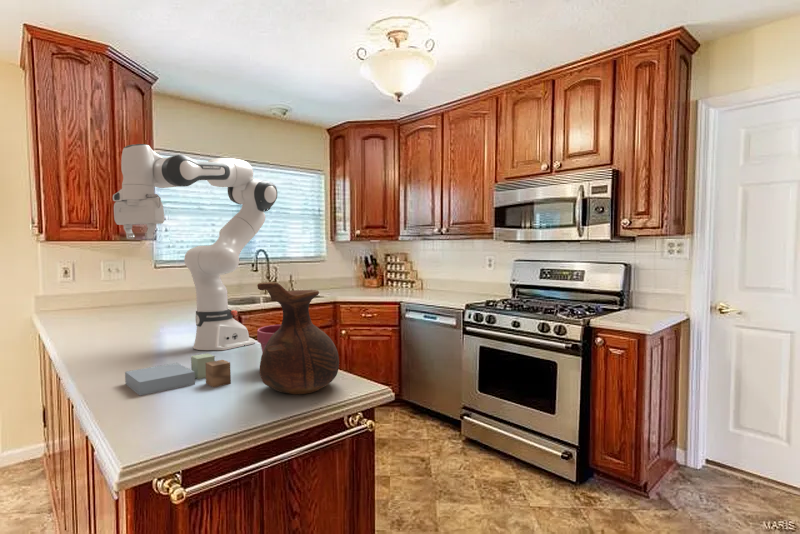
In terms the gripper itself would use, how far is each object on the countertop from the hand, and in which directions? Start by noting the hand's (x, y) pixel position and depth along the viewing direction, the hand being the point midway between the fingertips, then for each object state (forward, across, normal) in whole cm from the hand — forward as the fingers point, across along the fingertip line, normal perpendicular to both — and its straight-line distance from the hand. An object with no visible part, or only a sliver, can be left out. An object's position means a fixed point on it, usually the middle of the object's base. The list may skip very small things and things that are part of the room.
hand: (139, 238), depth 147 cm
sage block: (+41, -26, -1) cm, 49 cm away
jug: (+42, -60, -4) cm, 73 cm away
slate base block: (+42, -22, +10) cm, 49 cm away
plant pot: (+42, -42, -18) cm, 62 cm away
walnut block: (+41, -37, +3) cm, 55 cm away
